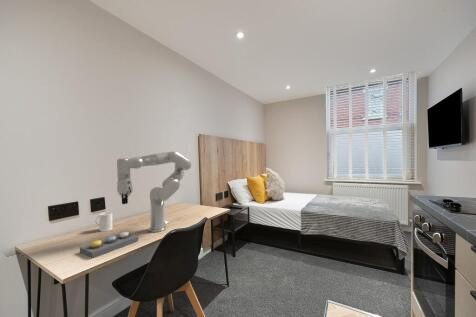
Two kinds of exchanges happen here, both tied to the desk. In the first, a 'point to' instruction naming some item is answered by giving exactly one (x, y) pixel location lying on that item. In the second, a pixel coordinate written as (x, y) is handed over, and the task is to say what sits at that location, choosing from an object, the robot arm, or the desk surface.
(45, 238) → the desk surface
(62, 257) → the desk surface
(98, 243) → the mustard button
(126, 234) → the cream button
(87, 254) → the control board
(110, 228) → the mug
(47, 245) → the desk surface
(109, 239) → the slate button
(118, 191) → the robot arm
